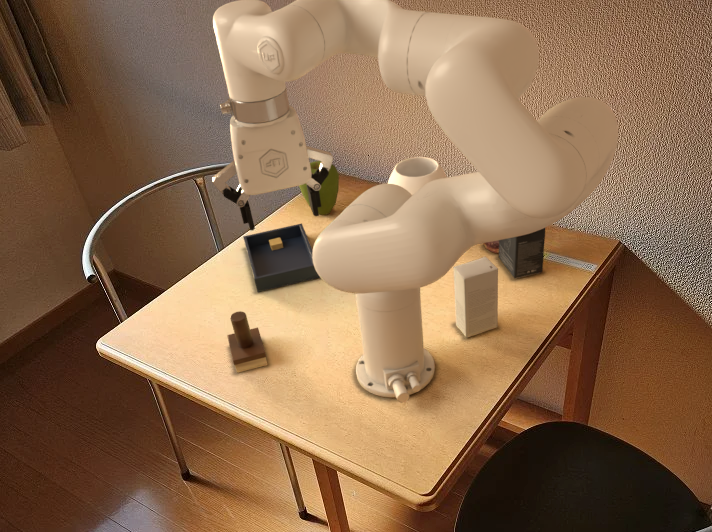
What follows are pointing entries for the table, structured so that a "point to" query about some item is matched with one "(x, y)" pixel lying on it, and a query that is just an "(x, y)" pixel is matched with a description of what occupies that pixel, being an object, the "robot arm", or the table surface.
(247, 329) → the peg on plate
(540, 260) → the box
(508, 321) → the table surface
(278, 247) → the tan square block
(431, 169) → the white vase
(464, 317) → the cosmetic box
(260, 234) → the tray
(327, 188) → the apple
